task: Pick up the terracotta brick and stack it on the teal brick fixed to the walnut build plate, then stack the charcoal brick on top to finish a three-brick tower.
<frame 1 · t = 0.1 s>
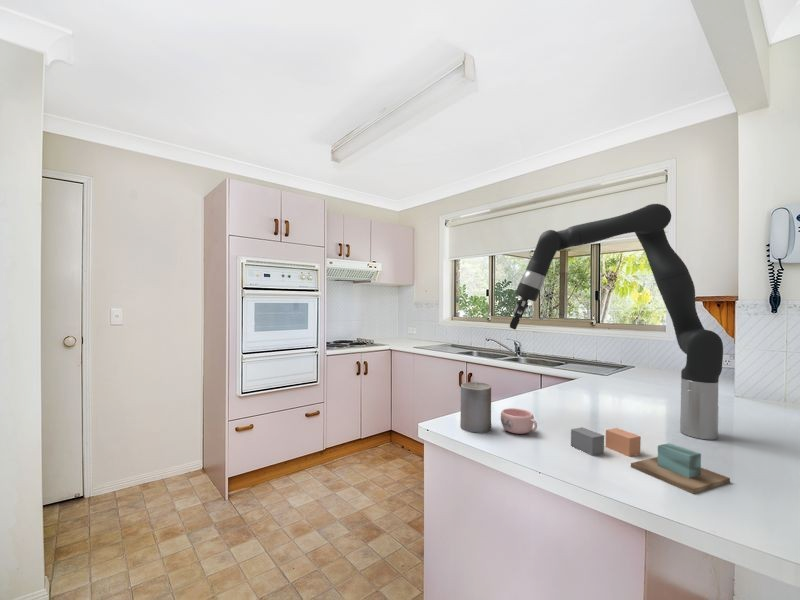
hand: (512, 327, 135), 31 cm above the counter, tool tilted 20°, fingers open, 8 cm apart
pillar candle: (475, 428, 121), on the counter
terracotta brick: (622, 451, 105), on the counter
mug: (519, 432, 118), on the counter
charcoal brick: (586, 450, 105), on the counter
build plate: (678, 474, 91), on the counter
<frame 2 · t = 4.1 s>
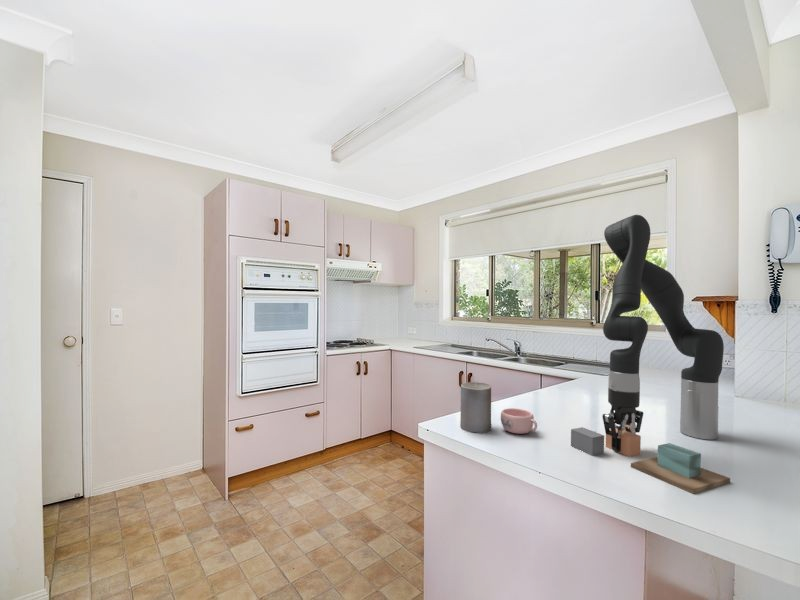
hand: (622, 449, 105), 0 cm above the counter, tool pointing down, fingers closed on terracotta brick, 4 cm apart
terracotta brick: (622, 450, 105), on the counter, touching gripper
everything else where it was.
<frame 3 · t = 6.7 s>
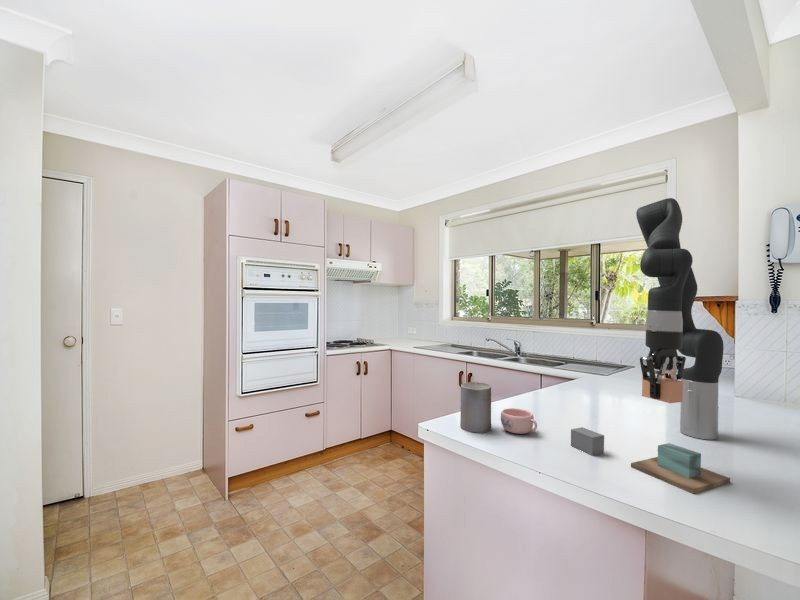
hand: (661, 397, 94), 18 cm above the counter, tool pointing down, fingers closed on terracotta brick, 4 cm apart
terracotta brick: (661, 398, 94), point 17 cm above the counter, touching gripper
everything else where it was.
when the fingers open (8 cm above the counter, at t = 9.2 s): terracotta brick drops 1 cm, resting on build plate.
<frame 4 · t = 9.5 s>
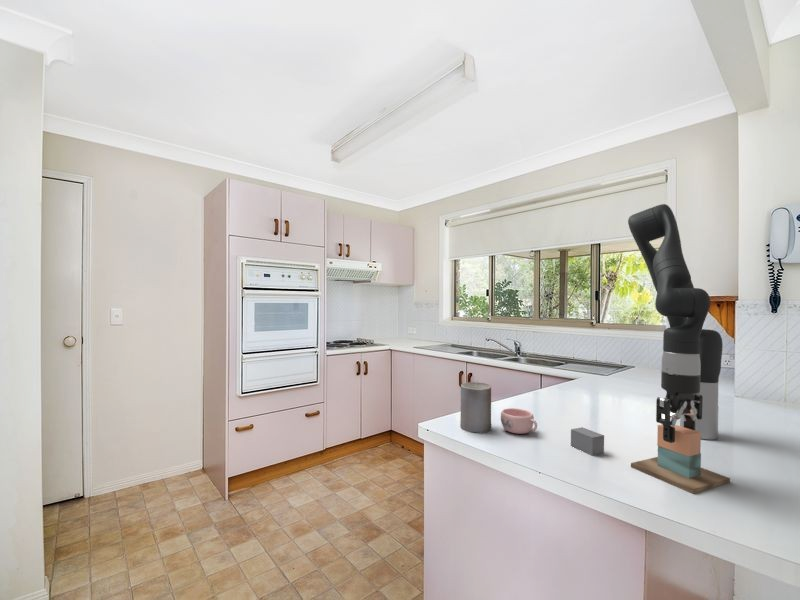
hand: (679, 439, 91), 8 cm above the counter, tool pointing down, fingers open, 7 cm apart
terracotta brick: (678, 449, 91), point 6 cm above the counter, touching build plate
everything else where it was.
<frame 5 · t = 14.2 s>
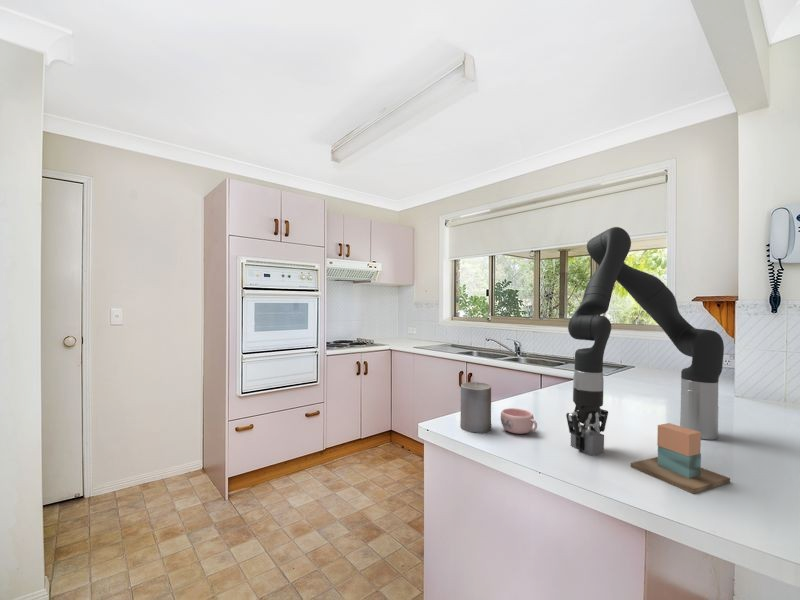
hand: (586, 448, 105), 0 cm above the counter, tool pointing down, fingers closed on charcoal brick, 4 cm apart
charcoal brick: (586, 449, 105), on the counter, touching gripper
everything else where it was.
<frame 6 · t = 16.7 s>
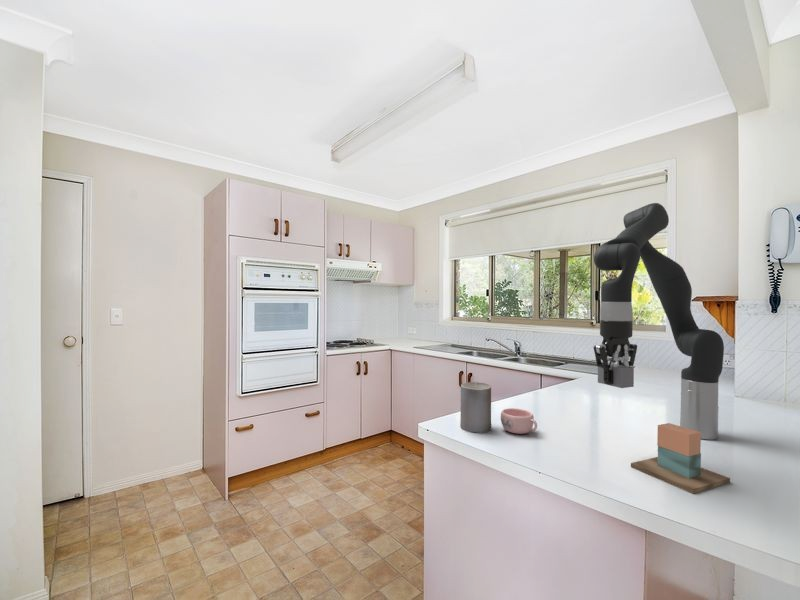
hand: (615, 382, 100), 20 cm above the counter, tool pointing down, fingers closed on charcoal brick, 4 cm apart
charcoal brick: (615, 384, 101), point 19 cm above the counter, touching gripper
everything else where it was.
when the fingers open (13 cm above the counter, at t = 19.5 s): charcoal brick drops 1 cm, resting on terracotta brick.
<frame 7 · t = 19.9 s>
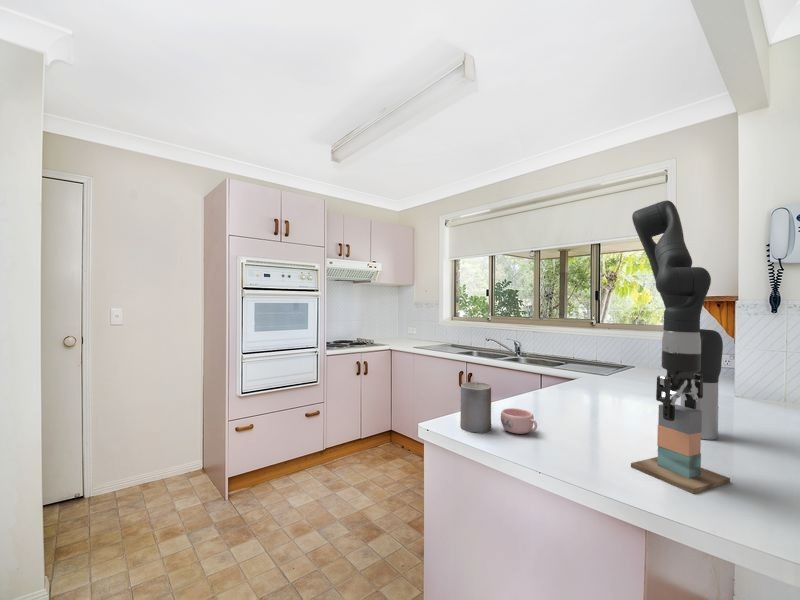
hand: (679, 418, 91), 14 cm above the counter, tool pointing down, fingers open, 8 cm apart
terracotta brick: (678, 449, 91), point 6 cm above the counter, touching build plate, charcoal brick
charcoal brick: (679, 428, 91), point 11 cm above the counter, touching terracotta brick
everything else where it was.
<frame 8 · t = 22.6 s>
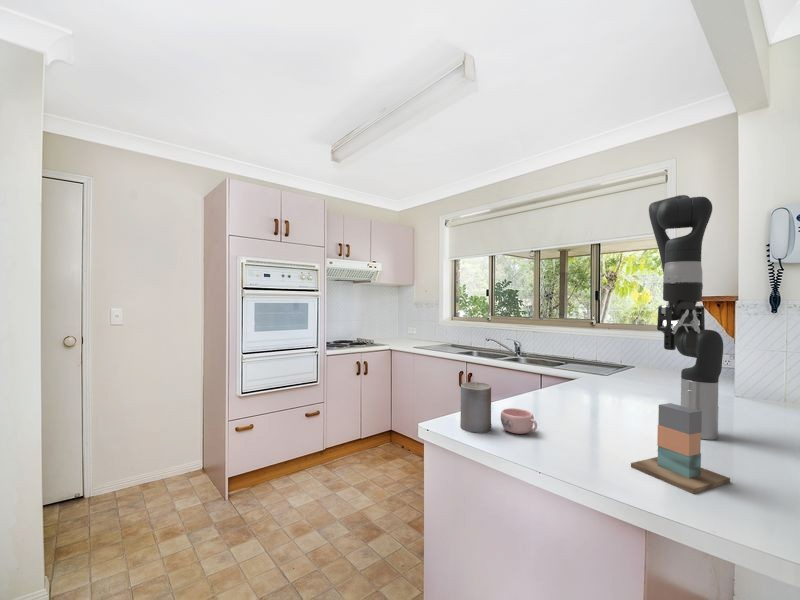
hand: (680, 349, 91), 30 cm above the counter, tool pointing down, fingers open, 8 cm apart
nothing on the counter moved.
at the end: terracotta brick 0.1 cm off-centre on the build plate, point 6.0 cm above the build plate's base; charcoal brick 0.0 cm off-centre on the build plate, point 11.0 cm above the build plate's base; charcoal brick tilted 0° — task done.
